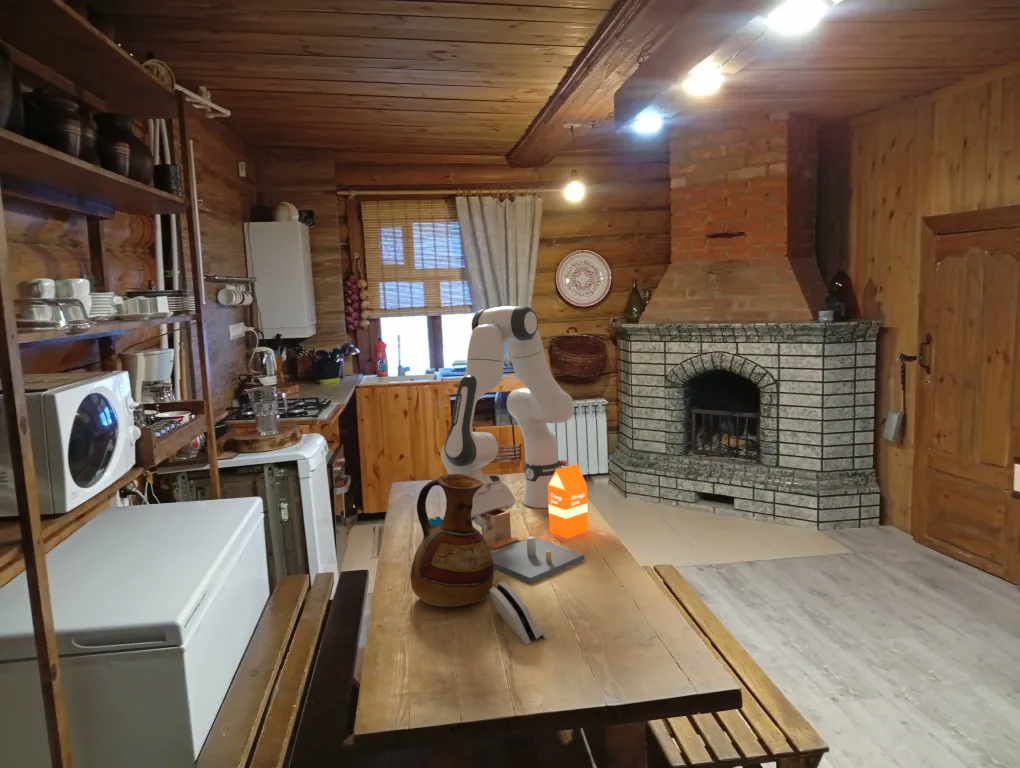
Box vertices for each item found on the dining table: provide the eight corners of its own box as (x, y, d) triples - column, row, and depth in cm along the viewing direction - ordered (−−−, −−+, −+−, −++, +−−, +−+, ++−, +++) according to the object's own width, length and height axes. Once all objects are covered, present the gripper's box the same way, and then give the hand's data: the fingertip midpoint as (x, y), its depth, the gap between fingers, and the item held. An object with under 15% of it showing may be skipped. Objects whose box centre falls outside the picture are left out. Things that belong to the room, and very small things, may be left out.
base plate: (533, 541, 201) (532, 520, 200) (584, 559, 186) (583, 536, 186) (479, 562, 188) (478, 539, 187) (530, 583, 173) (529, 558, 172)
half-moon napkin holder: (548, 639, 146) (531, 600, 143) (528, 651, 145) (511, 612, 142) (517, 606, 161) (501, 571, 159) (499, 617, 160) (483, 581, 157)
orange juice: (549, 531, 209) (546, 467, 206) (571, 524, 214) (568, 461, 211) (566, 538, 203) (564, 472, 200) (588, 531, 208) (586, 466, 205)
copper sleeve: (498, 534, 209) (496, 505, 208) (518, 541, 202) (517, 511, 201) (475, 542, 203) (473, 512, 202) (495, 550, 196) (493, 519, 195)
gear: (463, 526, 212) (453, 512, 204) (462, 545, 208) (452, 531, 200) (428, 531, 214) (417, 517, 206) (427, 549, 210) (416, 535, 202)
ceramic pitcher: (484, 619, 156) (477, 490, 152) (399, 615, 160) (390, 489, 156) (503, 582, 175) (497, 466, 171) (426, 579, 179) (419, 466, 175)
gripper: (450, 489, 198) (473, 530, 193) (504, 474, 212) (527, 512, 206) (442, 501, 202) (464, 542, 197) (495, 485, 216) (518, 523, 210)
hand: (497, 526), depth 201 cm, fingers closed on copper sleeve, 6 cm apart
